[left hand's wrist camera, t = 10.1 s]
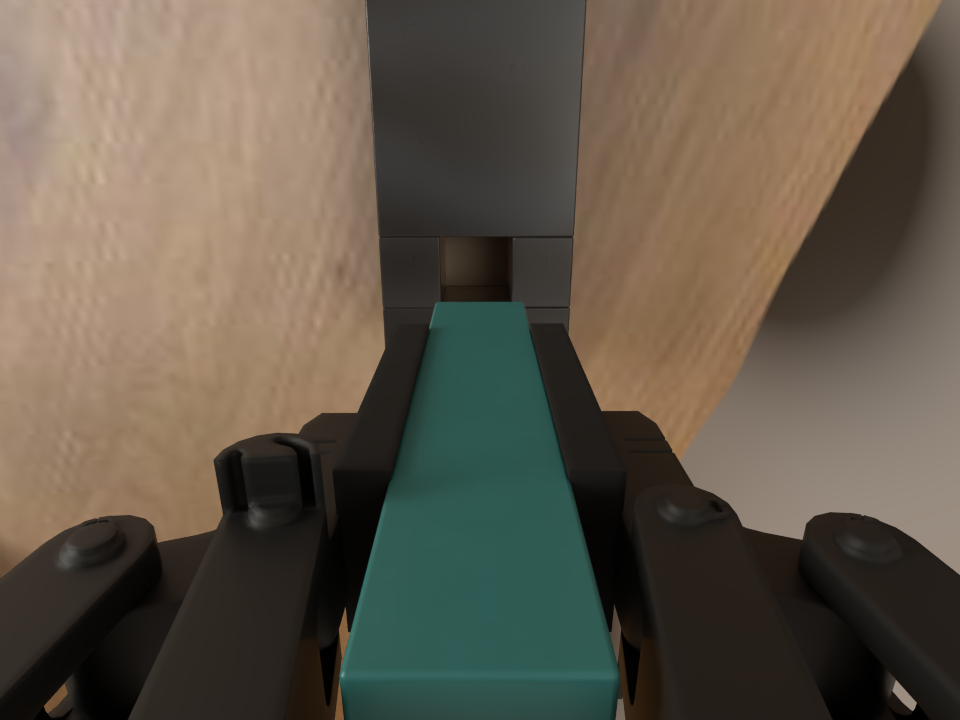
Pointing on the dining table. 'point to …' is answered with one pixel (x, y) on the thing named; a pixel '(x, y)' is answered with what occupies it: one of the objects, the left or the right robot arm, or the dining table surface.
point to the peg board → (475, 147)
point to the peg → (479, 548)
